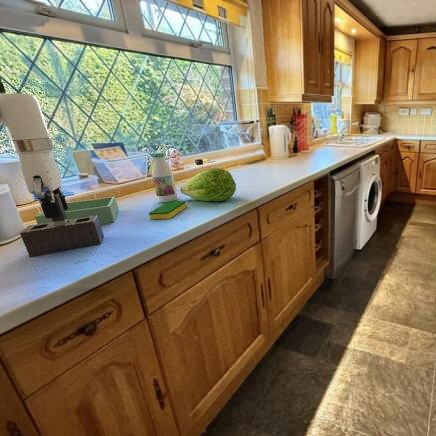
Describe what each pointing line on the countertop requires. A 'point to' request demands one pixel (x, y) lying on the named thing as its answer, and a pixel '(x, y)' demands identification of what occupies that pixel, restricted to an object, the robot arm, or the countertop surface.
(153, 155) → the milk bottle
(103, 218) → the green tray
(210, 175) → the lettuce
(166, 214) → the dish sponge
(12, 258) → the countertop surface
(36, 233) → the knife rack
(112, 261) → the countertop surface
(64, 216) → the knife
